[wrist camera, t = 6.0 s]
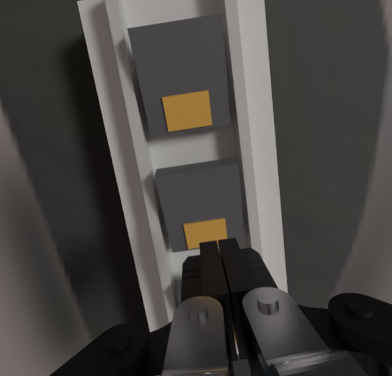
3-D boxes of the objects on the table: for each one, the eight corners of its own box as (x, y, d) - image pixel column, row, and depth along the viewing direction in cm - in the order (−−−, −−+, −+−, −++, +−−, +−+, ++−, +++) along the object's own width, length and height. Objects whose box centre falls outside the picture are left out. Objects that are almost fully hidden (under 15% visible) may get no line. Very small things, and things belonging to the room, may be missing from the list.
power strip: (99, 26, 18) (64, -14, 13) (247, 2, 17) (270, -47, 13) (162, 330, 23) (154, 384, 18) (276, 313, 23) (300, 364, 18)
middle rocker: (156, 169, 15) (154, 177, 14) (235, 157, 14) (239, 165, 13) (172, 242, 17) (172, 254, 16) (240, 232, 17) (244, 243, 16)
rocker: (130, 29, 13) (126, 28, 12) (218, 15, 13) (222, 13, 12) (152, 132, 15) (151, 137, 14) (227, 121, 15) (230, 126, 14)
